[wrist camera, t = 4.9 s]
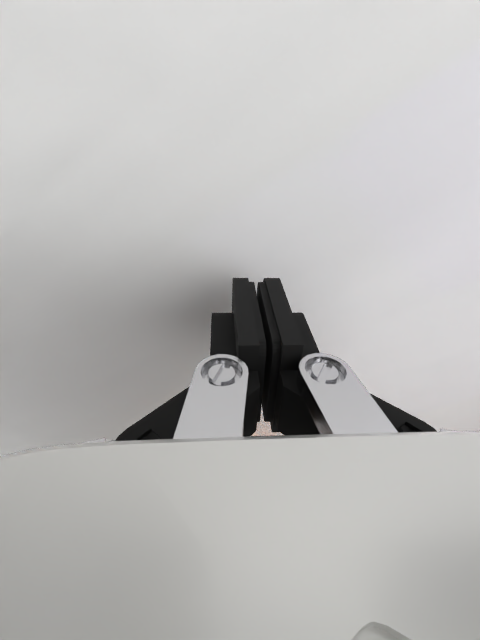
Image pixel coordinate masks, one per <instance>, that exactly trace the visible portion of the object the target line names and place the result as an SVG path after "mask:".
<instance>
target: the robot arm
mask: <svg viewBox="0 0 480 640" xmlns="http://www.w3.org/2000/svg"><path fill="white" fill-rule="evenodd" d="M261 404H262V409H263V416H264V421H265V422H270V423H271V429H272V432H281V433H282V434H284V435H282V436H251V435H252V434H253V433H254V432H255V431H256V427H257V422H260V415H261ZM0 640H480V431H453V430H447V429H440V431H439V432H437V431H436V430H435V429H434V428H433V427H431V426H430V425H428V424H427V423H425V422H423V421H422V420H420V419H418V418H416V417H414V416H412V415H410V414H408V413H406V412H404V411H402V410H401V409H399V408H397V407H395V406H393V405H391V404H389V403H387V402H385V401H383V400H381V399H380V398H378V397H376V396H374V395H372V394H370V393H369V392H368V391H367V389H366V388H365V387H364V385H363V384H362V383H361V381H360V380H359V379H358V377H357V376H356V375H355V373H354V372H353V370H352V369H351V368H350V366H349V365H348V364H347V363H346V362H345V361H343V360H341V359H340V358H338V357H336V356H333V355H330V354H325V353H319V350H318V348H317V345H316V343H315V341H314V338H313V336H312V333H311V331H310V329H309V326H308V324H307V321H306V319H305V317H304V315H303V313H292V311H291V308H290V305H289V303H288V300H287V297H286V295H285V292H284V289H283V286H282V284H281V281H280V279H279V278H264V280H263V282H258V287H257V295H256V290H255V285H254V282H249V281H248V278H233V288H232V313H212V323H211V349H210V356H209V357H207V358H205V359H203V360H202V361H201V362H199V363H198V365H197V367H196V368H195V371H194V374H193V378H192V381H191V384H190V386H189V387H188V388H186V389H185V390H184V391H182V392H181V393H179V394H178V395H176V396H175V397H173V398H172V399H170V400H169V401H167V402H166V403H164V404H163V405H161V406H160V407H158V408H157V409H155V410H154V411H153V412H151V413H150V414H148V415H147V416H145V417H144V418H142V419H141V420H139V421H138V422H136V423H135V424H133V425H132V426H130V427H129V428H127V429H126V430H125V431H124V432H123V433H121V434H120V435H119V436H118V437H117V439H116V440H113V441H108V442H106V438H101V439H96V440H92V441H87V442H82V443H78V444H66V445H55V446H48V447H42V448H35V449H29V450H24V451H20V452H15V453H11V454H7V455H2V456H0Z"/></svg>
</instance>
